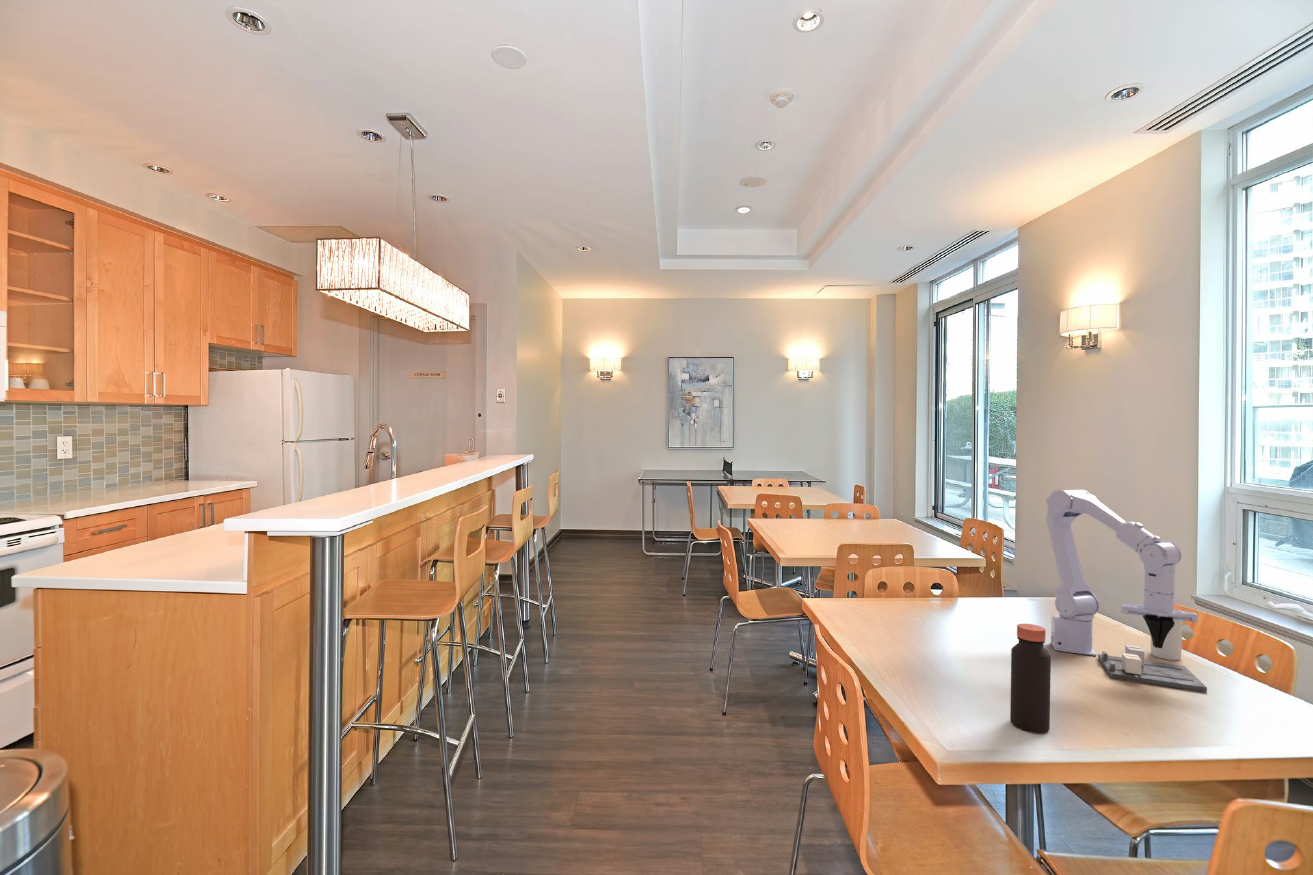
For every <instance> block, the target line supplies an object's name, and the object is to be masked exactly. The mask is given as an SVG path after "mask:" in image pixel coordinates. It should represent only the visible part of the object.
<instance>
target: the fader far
mask: <svg viewBox="0 0 1313 875" xmlns="http://www.w3.org/2000/svg"><path fill="white" fill-rule="evenodd" d="M1124 646H1125V648H1124V650H1125V652H1124V653H1126V654H1134V655H1138V657H1139V658H1140V659H1141V660H1142V665H1144V660H1145V651H1144V650H1143V649H1142V647H1141V646H1137V645H1131V644H1130V645H1129V644H1125V645H1124Z"/></svg>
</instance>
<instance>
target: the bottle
mask: <svg viewBox="0 0 1313 875" xmlns="http://www.w3.org/2000/svg"><path fill="white" fill-rule="evenodd" d="M1016 636H1017V638H1016V639H1018V642H1017V643H1016V644H1015V645H1014V646H1012V647H1011V651H1010V652H1011V654H1010V707H1009V708H1010V710H1009V711H1010V714H1009V716H1010V717H1009V718H1010V719H1009V720H1010V723H1011V725H1013V726H1014V727H1015V728H1017V729H1019V730H1021V731H1024V732H1028V733H1032V734H1047V733H1048V732H1049V730H1051V729H1050V726H1051V725H1050V724H1051V721H1050V720H1051V672H1052V670H1051V666H1052V665H1051V664H1052V660H1051V658H1052V657H1051V653H1050V652H1049V651H1048V650H1047V648H1045V647H1044V644H1045V643H1046V628H1045V627H1043V626H1041V625H1038V624H1033V623H1018V624H1016Z"/></svg>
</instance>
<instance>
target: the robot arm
mask: <svg viewBox="0 0 1313 875" xmlns="http://www.w3.org/2000/svg"><path fill="white" fill-rule="evenodd" d="M1045 502H1046V507H1047V513H1046V525H1047V529H1048V533H1049V537H1050V541H1051V547H1052V551H1053V555H1054V560H1055V563H1056V569H1057V574H1058V577H1059V582H1060V583H1059V584H1058V585H1057V587H1056V588H1055V590H1054V593H1055V600H1054V606H1055V609H1056V611H1057V612H1058V614H1059V615H1058V614H1053V615H1052V616H1051V632H1050V634H1051V635H1050V643H1051V645H1052V648H1053V649H1054V651H1058V652H1065V653H1074V654H1079V655H1088V656H1095V657H1096V656H1097V653H1096V651H1095V650H1094V648H1093V631H1094V630H1093V629H1094V628H1093V626H1094V625H1093V624H1094V623H1093V622H1094V621H1093V620H1094V618H1095V615H1096V614H1097V613H1098V612H1099V609H1100V602H1099V600H1098V598H1097V596H1096V595H1095V593H1094V591H1093V587H1092V586H1090V584H1088V583H1087V582H1086V581H1085V580H1084V575H1083V571H1082V567H1081V563H1080V559H1079V556H1078V555H1079V554H1078V551H1077V546H1076V543H1075V538H1074V534H1073V529H1072V526H1071V525H1072V523H1073V522H1074V521H1075V519H1077V518H1078V517H1079V516H1081V515H1083V514H1087V515H1089V516H1091V517H1093V518H1094V519H1096V520H1097V521H1099V522H1100V523H1102V524H1103V525H1105V526H1106V527H1108V528H1109V529H1111V530H1112V531H1114V532H1115V537H1116V539H1117V540H1118V541H1120V542H1121V543H1123V544H1124V545H1126V546H1127V547H1128V548H1130V549H1131V550H1133V551H1134V552H1135V553H1137V554H1138V555H1139V558H1140V560H1141V562H1142V563H1143V569H1144V585H1143V586H1144V587H1143V589H1144V590H1143V591H1144V592H1143V593H1144V594H1143V605H1140V604H1139V605H1136V604H1123V603H1122V604H1121V607H1120V612H1121V613H1122V614H1123V615H1136V616H1142V618H1143V620H1144V621H1145V624H1146V626H1147V628H1148V630H1149V633H1150V638H1151V637H1152V642H1153V646H1154V647H1156V648H1162V647H1163V643H1164V641H1165V638H1166V636H1167V634H1168V633H1169V631H1170V630H1171V629H1172V627H1173V626H1174V624H1175V622H1174V621H1173V619H1176V620H1183V621H1186V622H1190V623H1191V622H1192V623H1196V624H1197V623H1199V614H1197V613H1196V612H1192V611H1191V612H1190V611H1185V610H1179V609H1175V586H1176V565H1177V564H1179V562H1180V561H1181V559H1182V552H1181V550H1180V549H1179V547H1178V545H1176V544H1175V543H1174V542H1172V541H1168V540H1167V541H1164V540H1161V537H1160V536H1158V535H1154V534H1153V533H1152V532H1150V531H1149V530H1147V529H1146V528H1144V524H1142V523H1140V522H1135V521H1126V520H1124V519H1123V518H1122V517H1120V516H1119V515H1118V514H1116V512H1114V511H1112V510H1111V509H1110V508H1108V507H1107V506H1106V505H1105V504H1104V503H1102V502H1101V501H1100V500H1099V499H1098V498H1097V497H1096V495H1094V494H1091V493H1090V492H1089V491H1088V490H1085V489H1082V488H1078V489H1065V490H1063V489H1056V490H1054V491H1052V492H1051V493H1050V494H1049V495H1048V497H1047V498H1046V500H1045Z"/></svg>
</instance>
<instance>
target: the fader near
mask: <svg viewBox="0 0 1313 875" xmlns="http://www.w3.org/2000/svg"><path fill="white" fill-rule="evenodd" d="M1121 657H1122V668H1123V669H1124V670H1125V672H1126V673H1133V674H1140V675H1141V667H1142V660H1141V659H1140V658H1139V657H1138V655H1134V654H1126V653H1125V652H1121Z"/></svg>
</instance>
